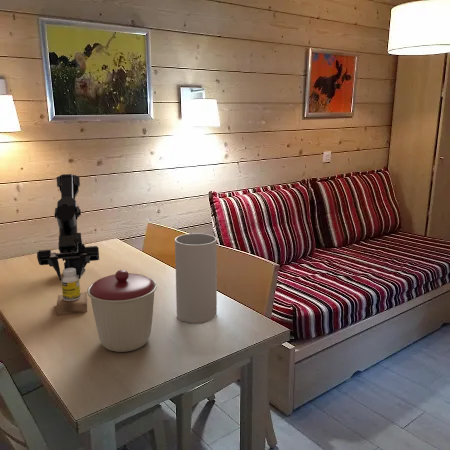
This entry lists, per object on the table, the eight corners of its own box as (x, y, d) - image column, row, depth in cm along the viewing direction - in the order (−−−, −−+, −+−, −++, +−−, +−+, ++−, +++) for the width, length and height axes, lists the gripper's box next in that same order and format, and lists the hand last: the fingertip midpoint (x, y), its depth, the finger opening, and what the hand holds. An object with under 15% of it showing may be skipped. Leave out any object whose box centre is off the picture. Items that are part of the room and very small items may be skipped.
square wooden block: (87, 300, 144) (86, 291, 144) (87, 311, 136) (86, 302, 135) (58, 303, 142) (58, 294, 141) (57, 315, 133) (56, 306, 133)
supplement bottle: (60, 301, 136) (57, 272, 133) (67, 294, 141) (64, 266, 138) (76, 301, 135) (74, 273, 133) (83, 294, 141) (80, 267, 138)
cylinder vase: (209, 304, 142) (208, 231, 136) (222, 320, 131) (222, 242, 124) (172, 310, 138) (170, 235, 131) (182, 327, 126) (181, 246, 120)
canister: (79, 341, 118) (73, 270, 113) (135, 320, 130) (132, 255, 125) (113, 368, 105) (108, 289, 100) (172, 342, 118) (170, 270, 113)
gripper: (34, 226, 133) (34, 271, 126) (96, 222, 138) (99, 265, 131) (39, 243, 142) (39, 286, 135) (97, 238, 148) (100, 280, 140)
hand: (69, 279), depth 135 cm, fingers open, 5 cm apart
